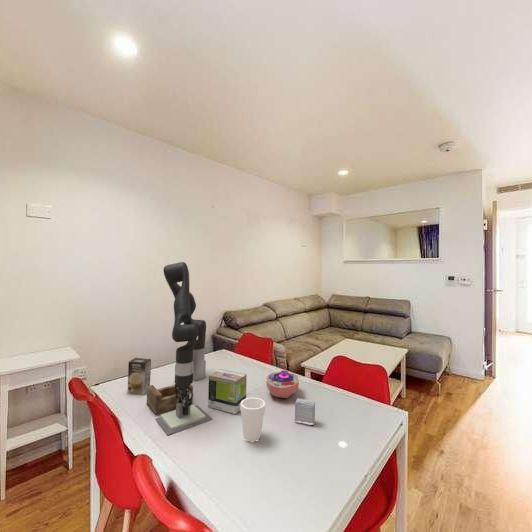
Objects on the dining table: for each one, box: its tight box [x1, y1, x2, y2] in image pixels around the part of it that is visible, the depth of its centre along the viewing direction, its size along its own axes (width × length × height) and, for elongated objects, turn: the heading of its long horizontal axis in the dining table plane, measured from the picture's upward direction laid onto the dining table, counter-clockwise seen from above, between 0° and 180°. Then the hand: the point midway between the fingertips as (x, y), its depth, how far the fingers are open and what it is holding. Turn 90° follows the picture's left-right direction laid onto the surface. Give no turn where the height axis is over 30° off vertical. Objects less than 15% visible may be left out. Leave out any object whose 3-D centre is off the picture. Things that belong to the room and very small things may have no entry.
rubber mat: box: [154, 405, 213, 437], centre depth 118 cm, size 19×14×1 cm
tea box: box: [207, 369, 247, 415], centre depth 130 cm, size 15×10×15 cm, turn 65°
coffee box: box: [127, 357, 152, 396], centre depth 143 cm, size 9×6×16 cm
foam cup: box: [240, 397, 266, 442], centre depth 107 cm, size 10×9×13 cm
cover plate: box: [159, 402, 206, 430], centre depth 119 cm, size 15×12×6 cm
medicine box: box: [294, 398, 316, 424], centre depth 119 cm, size 8×4×9 cm, turn 71°
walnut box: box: [146, 384, 194, 417], centre depth 130 cm, size 17×12×8 cm
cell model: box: [265, 369, 300, 399], centre depth 143 cm, size 17×20×11 cm
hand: (183, 412), depth 119 cm, fingers open, 4 cm apart
